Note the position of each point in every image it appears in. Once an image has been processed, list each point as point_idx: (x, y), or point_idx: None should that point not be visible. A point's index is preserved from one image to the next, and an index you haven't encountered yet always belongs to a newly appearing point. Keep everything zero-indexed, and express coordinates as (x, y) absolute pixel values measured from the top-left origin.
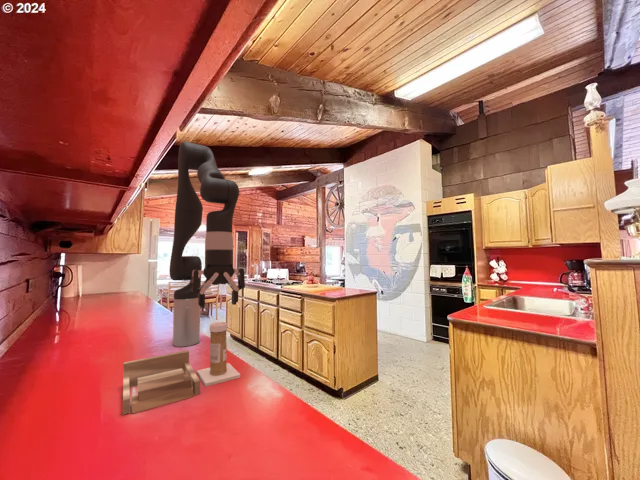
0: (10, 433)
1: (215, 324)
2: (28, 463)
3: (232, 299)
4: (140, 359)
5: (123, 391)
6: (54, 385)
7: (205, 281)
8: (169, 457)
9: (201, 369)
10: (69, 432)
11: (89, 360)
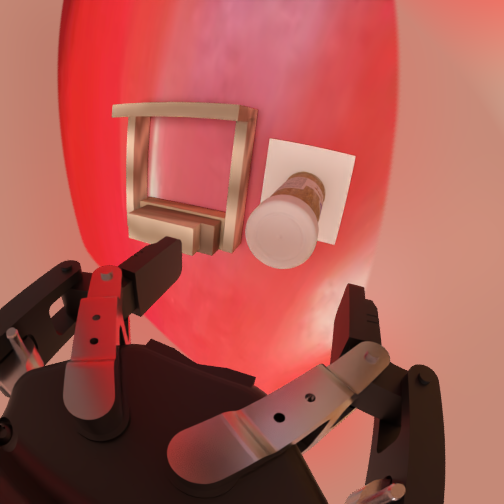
0: (68, 172)
1: (262, 243)
2: (91, 246)
3: (343, 312)
4: (136, 104)
5: (126, 192)
6: (85, 45)
7: (85, 328)
8: (180, 334)
9: (280, 140)
10: (102, 214)
11: None
